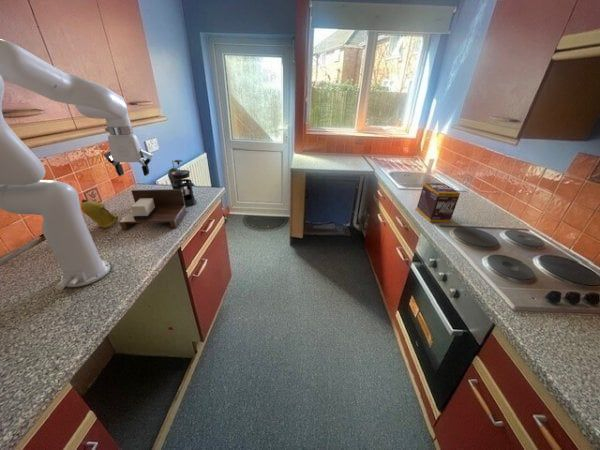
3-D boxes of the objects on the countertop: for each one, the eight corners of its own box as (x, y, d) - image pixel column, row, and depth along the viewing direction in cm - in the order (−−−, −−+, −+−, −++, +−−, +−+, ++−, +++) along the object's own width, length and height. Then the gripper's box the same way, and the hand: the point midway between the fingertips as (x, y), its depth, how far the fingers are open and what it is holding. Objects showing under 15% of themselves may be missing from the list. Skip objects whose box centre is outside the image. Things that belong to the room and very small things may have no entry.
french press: (184, 198, 139) (175, 157, 128) (199, 200, 137) (192, 158, 126) (171, 207, 128) (160, 162, 117) (187, 208, 127) (178, 164, 116)
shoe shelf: (176, 228, 109) (170, 203, 104) (122, 230, 106) (112, 204, 101) (186, 211, 124) (181, 189, 118) (139, 213, 121) (132, 189, 116)
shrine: (105, 234, 103) (92, 200, 96) (86, 232, 104) (72, 199, 96) (124, 221, 113) (113, 190, 106) (107, 220, 114) (95, 189, 106)
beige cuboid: (147, 219, 107) (144, 206, 104) (134, 219, 107) (130, 207, 104) (158, 207, 118) (154, 196, 115) (145, 208, 117) (142, 196, 114)
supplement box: (429, 222, 122) (439, 192, 114) (416, 209, 135) (423, 182, 128) (450, 222, 122) (461, 193, 115) (434, 209, 136) (443, 182, 128)
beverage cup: (183, 191, 148) (177, 157, 138) (187, 195, 143) (181, 160, 133) (170, 194, 144) (162, 159, 134) (174, 198, 139) (166, 162, 129)
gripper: (90, 132, 90) (106, 177, 98) (141, 132, 92) (152, 177, 100) (101, 129, 97) (116, 172, 105) (149, 130, 99) (159, 172, 107)
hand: (134, 174), depth 103 cm, fingers open, 9 cm apart
